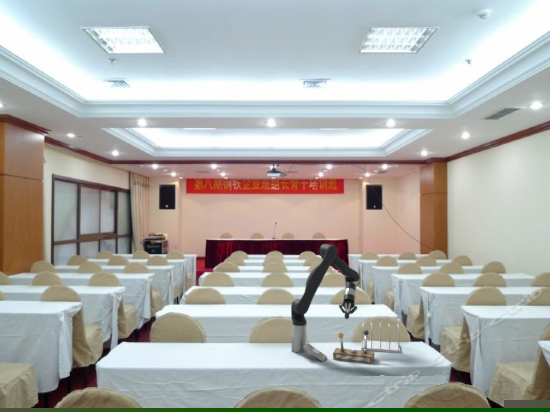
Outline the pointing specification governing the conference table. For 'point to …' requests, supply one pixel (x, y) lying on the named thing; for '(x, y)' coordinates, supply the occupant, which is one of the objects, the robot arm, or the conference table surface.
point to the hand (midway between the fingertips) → (346, 318)
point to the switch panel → (353, 355)
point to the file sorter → (381, 343)
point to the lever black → (365, 341)
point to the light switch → (315, 352)
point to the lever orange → (341, 340)
